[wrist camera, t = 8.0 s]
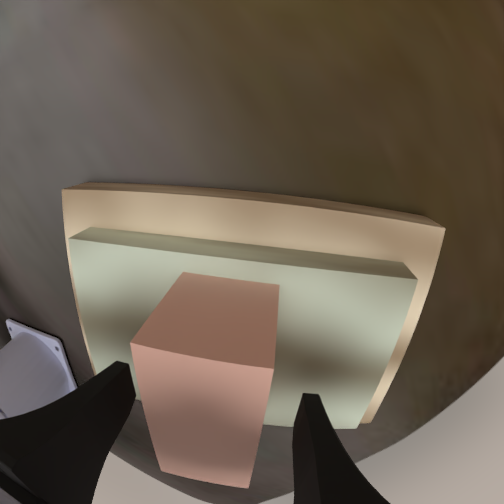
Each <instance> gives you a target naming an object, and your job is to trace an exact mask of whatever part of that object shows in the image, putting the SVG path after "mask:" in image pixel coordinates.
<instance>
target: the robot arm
mask: <svg viewBox="0 0 504 504" xmlns="http://www.w3.org/2000/svg"><path fill="white" fill-rule="evenodd" d="M6 324H7V327H8V330H9V332H10V335H11V338H12V340H11V341H10V342H8V343H7V344H6V345H5V346H4V347H3V348H2V349H1V350H0V504H92V500H93V496H94V492H95V488H96V485H97V482H98V479H99V476H100V473H101V470H102V468H103V465H104V462H105V460H106V457H107V455H108V453H109V451H110V449H111V447H112V445H113V443H114V442H115V440H116V438H117V436H118V434H119V432H120V431H121V429H122V427H123V425H124V423H125V421H126V420H127V418H128V416H129V414H130V411H131V409H132V406H133V403H134V401H135V398H136V392H135V388H134V384H133V379H132V375H131V371H130V366H129V364H128V363H124V362H121V361H115V362H114V363H112V364H111V365H110V366H108V367H107V368H105V369H104V370H103V371H101V372H100V373H98V374H97V375H96V376H94V377H93V378H91V379H90V380H88V381H87V382H85V383H84V384H83V385H81V386H80V387H78V388H77V385H76V383H75V380H74V378H73V375H72V372H71V369H70V367H69V364H68V361H67V358H66V355H65V352H64V349H63V346H62V343H61V341H60V340H59V339H58V338H56V337H53V336H50V335H48V334H45V333H43V332H40V331H37V330H35V329H32V328H30V327H27V326H25V325H23V324H20V323H18V322H16V321H13V320H11V319H8V320H6ZM292 448H293V469H294V504H390V503H389V502H388V501H387V500H386V499H384V498H383V497H382V496H381V495H380V493H379V492H378V491H377V490H376V489H375V488H374V487H373V486H372V485H371V484H370V483H369V482H368V481H367V479H366V478H365V477H364V476H363V474H362V473H361V472H360V471H359V469H358V468H357V467H356V465H355V464H354V462H353V461H352V459H351V458H350V456H349V455H348V453H347V452H346V450H345V448H344V447H343V445H342V443H341V441H340V440H339V438H338V436H337V434H336V432H335V430H334V428H333V426H332V424H331V422H330V420H329V417H328V415H327V413H326V411H325V408H324V406H323V403H322V400H321V398H320V395H319V394H313V393H303V394H302V398H301V401H300V404H299V408H298V411H297V414H296V417H295V421H294V427H293V442H292Z"/></svg>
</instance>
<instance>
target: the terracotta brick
mask: <svg viewBox="0 0 504 504" xmlns="http://www.w3.org/2000/svg"><path fill="white" fill-rule="evenodd" d="M278 302H279V285H277V284H269V283H261V282H253V281H245V280H238V279H230V278H223V277H216V276H209V275H202V274H195V273H188V272H182V274H181V275H180V276H179V278H178V279H177V280H176V281H175V283H174V284H173V285H172V287H171V288H170V289H169V291H168V292H167V293H166V295H165V296H164V297H163V299H162V300H161V301H160V303H159V304H158V305H157V307H156V308H155V309H154V311H153V312H152V313H151V315H150V316H149V317H148V319H147V320H146V321H145V323H144V324H143V325H142V327H141V328H140V329H139V331H138V332H137V334H136V335H135V336H134V338H133V339H132V340H131V342H130V345H131V351H132V357H133V362H134V368H135V373H136V378H137V382H138V387H139V392H140V396H141V400H142V405H143V409H144V413H145V417H146V421H147V424H148V428H149V432H150V435H151V439H152V442H153V446H154V449H155V453H156V456H157V459H158V462H159V465H160V468H161V471H163V472H167V473H171V474H174V475H178V476H183V477H187V478H191V479H196V480H200V481H205V482H210V483H216V484H222V485H228V486H234V487H242V488H248V487H249V483H250V479H251V475H252V470H253V466H254V462H255V458H256V453H257V449H258V444H259V440H260V435H261V431H262V426H263V421H264V417H265V412H266V407H267V402H268V397H269V392H270V387H271V382H272V377H273V372H274V363H275V349H276V335H277V319H278Z"/></svg>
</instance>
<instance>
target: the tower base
mask: <svg viewBox="0 0 504 504" xmlns="http://www.w3.org/2000/svg"><path fill="white" fill-rule="evenodd" d="M62 203H63V217H64V228H65V238H66V246H67V254H68V261H69V268H70V274H71V280H72V286H73V291H74V296H75V301H76V306H77V311H78V315H79V320H80V324H81V328H82V332H83V336H84V340H85V344H86V347H87V351H88V355H89V358H90V361H91V365H92V368H93V371H94V374H95V376H96V375H97V374H98V373H100V372H101V371H103V370H104V369H105V368H107V367H108V366H110V365H111V364H112V363H114V362H115V361H121V362H124V363H128V364H129V366H130V371H131V375H132V379H133V384H134V388H135V392H136V398H135V399H138V400H141V396H140V392H139V387H138V382H137V378H136V373H135V368H134V362H133V357H132V351H131V345H130V342H131V340H132V339H133V338H134V336H135V335H136V334H137V332H138V331H139V329H140V328H141V327H142V325H143V324H144V323H145V321H146V320H147V319H148V317H149V316H150V315H151V313H152V312H153V311H154V309H155V308H156V307H157V305H158V304H159V303H160V301H161V300H162V299H163V297H164V296H165V295H166V293H167V292H168V291H169V289H170V288H171V287H172V285H173V284H174V283H175V281H176V280H177V279H178V278H179V276H180V275H181V274H182V272H188V273H195V274H202V275H209V276H216V277H223V278H230V279H238V280H245V281H253V282H261V283H269V284H277V285H279V302H278V319H277V335H276V349H275V363H274V372H273V377H272V382H271V387H270V392H269V397H268V402H267V407H266V412H265V417H264V421H263V424H267V425H277V426H289V427H294V421H295V417H296V414H297V411H298V408H299V404H300V401H301V398H302V394H303V393H313V394H319V395H320V398H321V400H322V403H323V406H324V408H325V411H326V413H327V415H328V417H329V420H330V422H331V424H332V426H333V428H334V429H354V428H357V426H358V425H359V423H370V422H371V421H372V419H373V417H374V415H375V413H376V412H377V410H378V408H379V406H380V404H381V402H382V400H383V398H384V396H385V394H386V392H387V390H388V388H389V386H390V384H391V382H392V380H393V378H394V376H395V374H396V372H397V370H398V367H399V365H400V363H401V361H402V359H403V356H404V354H405V352H406V349H407V347H408V345H409V342H410V340H411V337H412V335H413V332H414V330H415V327H416V324H417V322H418V319H419V316H420V314H421V311H422V308H423V305H424V302H425V299H426V296H427V293H428V290H429V287H430V284H431V281H432V278H433V274H434V271H435V267H436V264H437V260H438V257H439V253H440V249H441V245H442V241H443V237H444V233H445V229H446V228H444V227H442V226H441V225H439V224H437V223H436V222H434V221H432V220H431V219H429V218H427V217H426V216H421V215H416V214H410V213H405V212H399V211H394V210H388V209H382V208H376V207H369V206H363V205H356V204H350V203H343V202H336V201H328V200H321V199H313V198H305V197H297V196H289V195H280V194H271V193H261V192H251V191H241V190H229V189H218V188H205V187H190V186H174V185H156V184H133V183H94V182H86V183H83V184H79V185H75V186H72V187H68V188H65V189H62ZM141 401H142V400H141Z"/></svg>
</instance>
